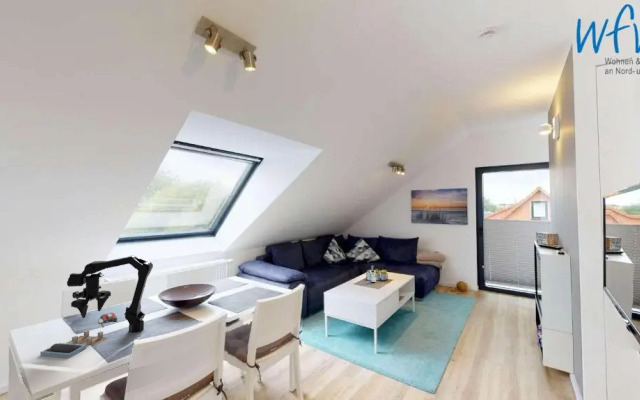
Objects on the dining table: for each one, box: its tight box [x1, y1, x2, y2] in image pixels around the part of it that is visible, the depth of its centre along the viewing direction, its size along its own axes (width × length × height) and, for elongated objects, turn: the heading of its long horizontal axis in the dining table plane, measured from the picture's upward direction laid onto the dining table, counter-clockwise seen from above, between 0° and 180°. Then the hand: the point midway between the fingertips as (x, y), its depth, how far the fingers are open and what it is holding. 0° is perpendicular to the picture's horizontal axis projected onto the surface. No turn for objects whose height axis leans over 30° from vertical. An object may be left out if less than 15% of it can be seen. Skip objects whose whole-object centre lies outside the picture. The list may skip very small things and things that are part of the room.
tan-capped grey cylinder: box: [49, 343, 77, 353], centre depth 135 cm, size 11×4×4 cm, turn 84°
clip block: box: [66, 330, 108, 346], centre depth 147 cm, size 16×8×4 cm, turn 85°
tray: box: [40, 342, 87, 359], centre depth 135 cm, size 15×9×3 cm, turn 85°
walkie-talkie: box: [98, 312, 118, 329], centre depth 171 cm, size 9×4×20 cm
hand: (91, 314), depth 153 cm, fingers open, 9 cm apart
